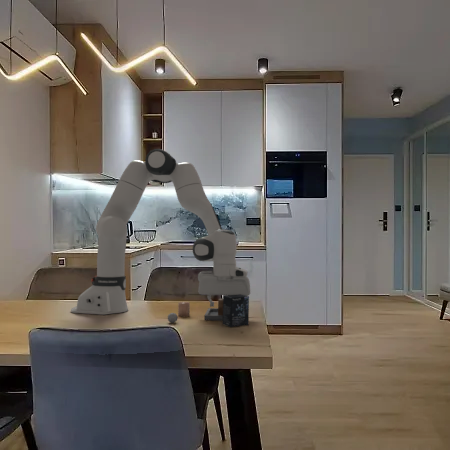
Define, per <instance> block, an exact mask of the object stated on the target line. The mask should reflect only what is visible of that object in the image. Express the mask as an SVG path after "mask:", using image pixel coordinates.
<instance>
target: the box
mask: <svg viewBox="0 0 450 450" xmlns="http://www.w3.org/2000/svg"><path fill="white" fill-rule="evenodd" d="M249 296H250V295H249ZM249 296H246V295H241V294H238V295H222V299H223V321H222V325H223V326H227V327H230V328H233V327H240V326H241V327H242V326H249V321H250V318H249V316H250V315H249V314H250V313H249V312H250V308H249V307H250V297H249Z"/></svg>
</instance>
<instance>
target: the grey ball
mask: <svg viewBox="0 0 450 450" xmlns="http://www.w3.org/2000/svg"><path fill="white" fill-rule="evenodd" d="M178 317H179V316H178V314H176V313H175V312H171V313H169V314H168V316H167V321H168V322H169V323H171V324H174V323H176V322H177V321H178Z"/></svg>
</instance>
